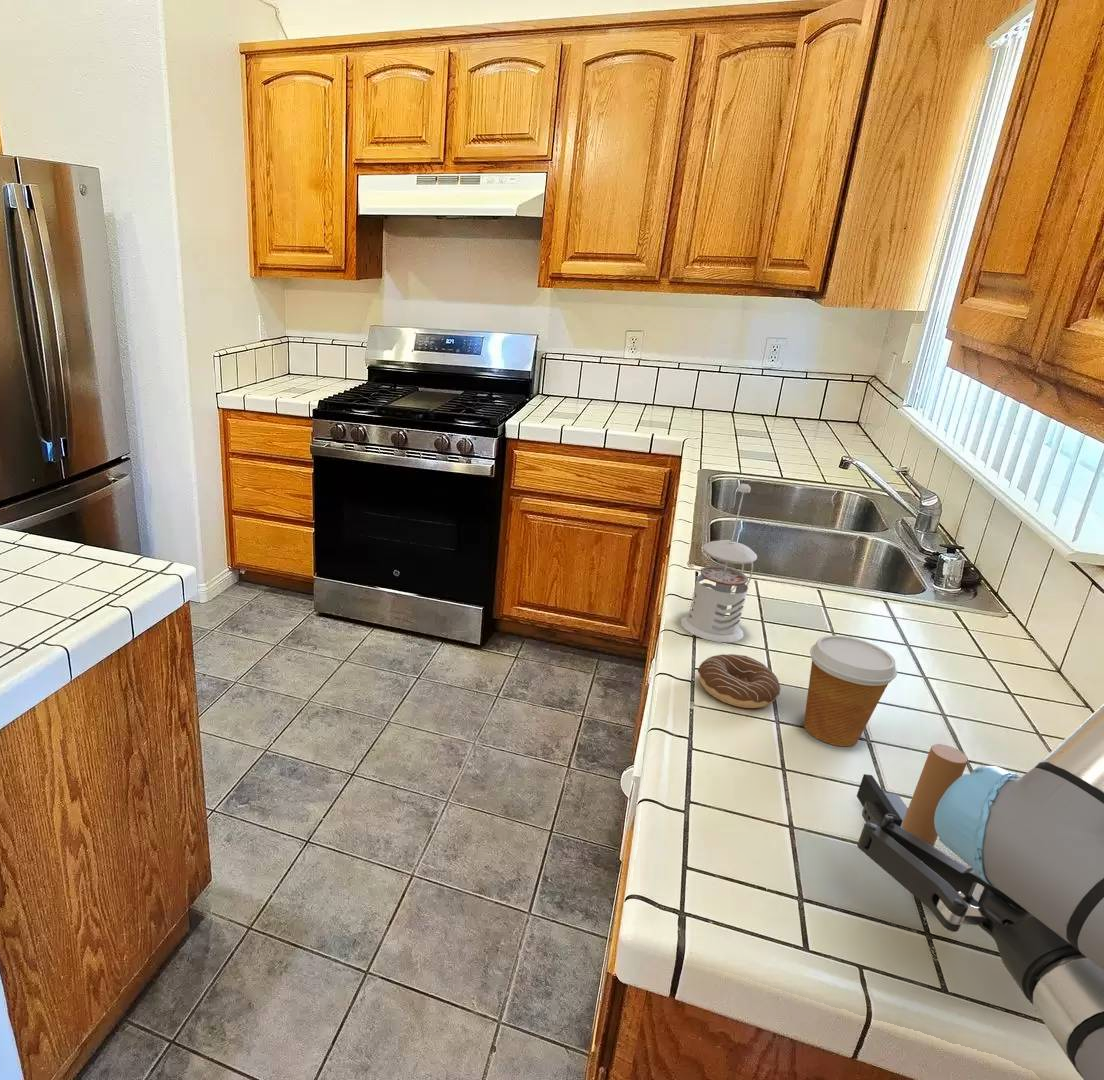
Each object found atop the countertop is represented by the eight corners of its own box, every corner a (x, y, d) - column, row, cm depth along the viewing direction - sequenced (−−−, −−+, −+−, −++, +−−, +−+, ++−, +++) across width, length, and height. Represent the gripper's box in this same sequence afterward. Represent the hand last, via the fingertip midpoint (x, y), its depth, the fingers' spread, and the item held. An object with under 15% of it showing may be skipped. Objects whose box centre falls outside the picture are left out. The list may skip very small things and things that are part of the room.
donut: (740, 668, 113) (746, 645, 111) (794, 708, 103) (801, 683, 102) (679, 676, 110) (685, 652, 109) (728, 717, 101) (735, 692, 99)
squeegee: (894, 812, 85) (930, 714, 80) (961, 913, 72) (1009, 804, 67) (865, 808, 85) (900, 710, 80) (927, 907, 72) (972, 798, 67)
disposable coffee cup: (773, 717, 101) (795, 638, 97) (826, 706, 104) (849, 629, 100) (834, 761, 93) (861, 677, 88) (889, 747, 96) (918, 665, 92)
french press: (668, 622, 126) (697, 479, 117) (710, 607, 132) (741, 470, 123) (720, 647, 119) (756, 497, 109) (762, 631, 125) (800, 487, 116)
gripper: (887, 993, 58) (795, 807, 78) (1257, 1057, 55) (1062, 845, 74) (917, 921, 55) (813, 746, 75) (1308, 983, 52) (1092, 783, 72)
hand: (937, 795), depth 75 cm, fingers open, 13 cm apart
